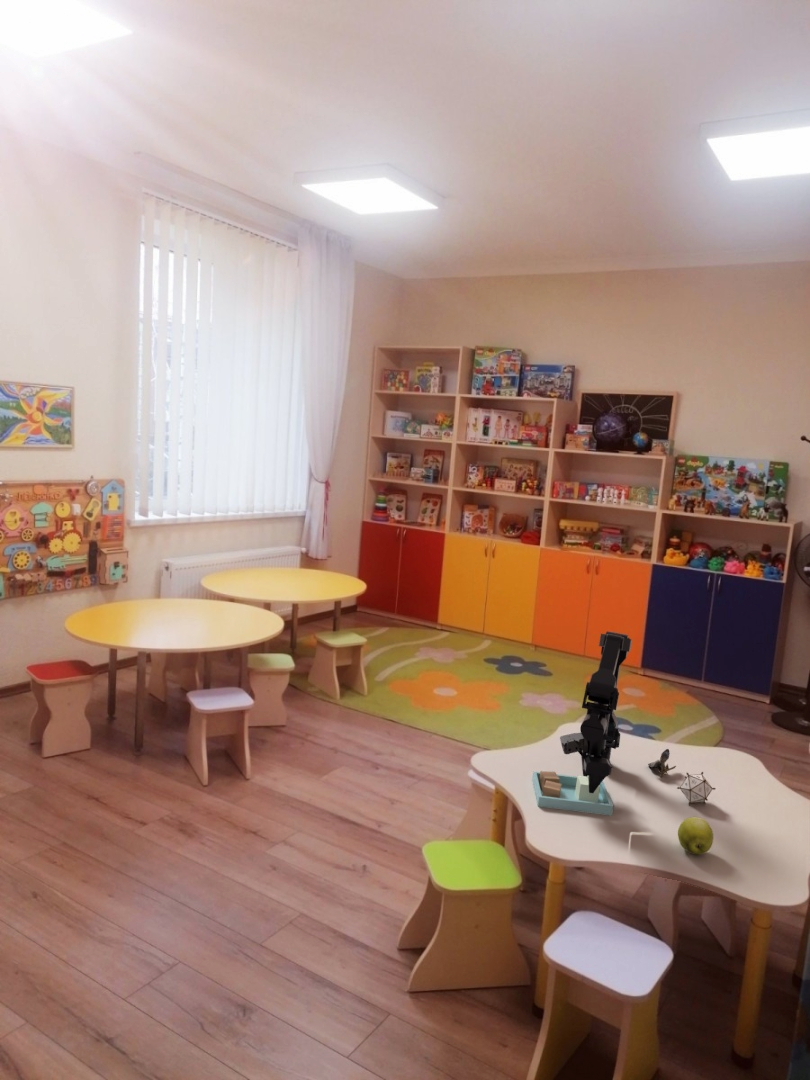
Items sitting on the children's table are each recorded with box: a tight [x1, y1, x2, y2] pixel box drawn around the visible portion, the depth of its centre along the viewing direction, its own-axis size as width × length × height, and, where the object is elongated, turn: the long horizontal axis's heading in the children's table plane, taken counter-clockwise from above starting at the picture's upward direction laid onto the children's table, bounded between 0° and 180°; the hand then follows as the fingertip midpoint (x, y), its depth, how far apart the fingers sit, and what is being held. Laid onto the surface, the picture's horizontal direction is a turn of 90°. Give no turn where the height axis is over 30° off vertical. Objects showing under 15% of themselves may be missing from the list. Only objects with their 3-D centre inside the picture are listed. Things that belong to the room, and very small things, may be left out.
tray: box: [531, 771, 614, 816], centre depth 203 cm, size 15×19×3 cm
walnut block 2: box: [543, 780, 562, 798], centre depth 201 cm, size 4×4×4 cm
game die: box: [676, 771, 716, 806], centre depth 208 cm, size 9×8×10 cm
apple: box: [677, 816, 714, 855], centre depth 183 cm, size 8×9×8 cm
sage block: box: [575, 775, 600, 803], centre depth 203 cm, size 5×5×5 cm
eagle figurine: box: [647, 748, 677, 779], centre depth 225 cm, size 8×7×9 cm
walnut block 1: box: [539, 770, 559, 792], centre depth 206 cm, size 4×4×4 cm
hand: (587, 784), depth 203 cm, fingers open, 9 cm apart
